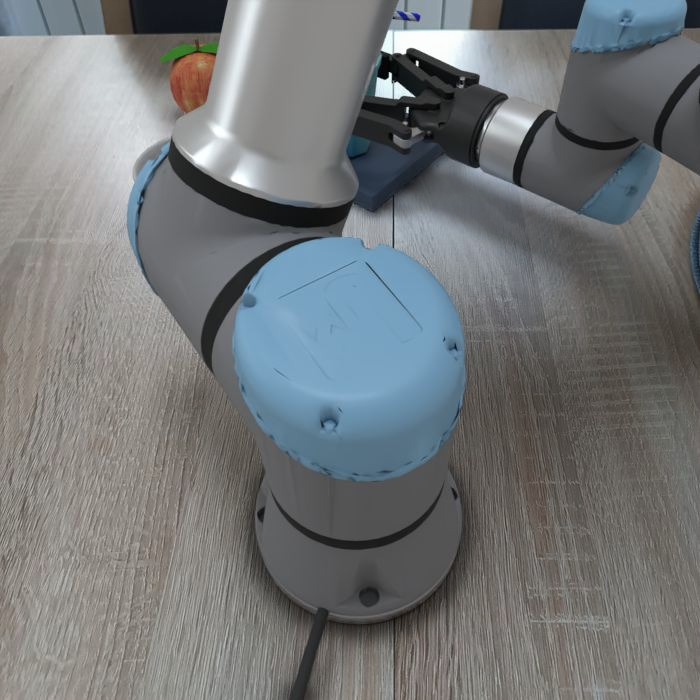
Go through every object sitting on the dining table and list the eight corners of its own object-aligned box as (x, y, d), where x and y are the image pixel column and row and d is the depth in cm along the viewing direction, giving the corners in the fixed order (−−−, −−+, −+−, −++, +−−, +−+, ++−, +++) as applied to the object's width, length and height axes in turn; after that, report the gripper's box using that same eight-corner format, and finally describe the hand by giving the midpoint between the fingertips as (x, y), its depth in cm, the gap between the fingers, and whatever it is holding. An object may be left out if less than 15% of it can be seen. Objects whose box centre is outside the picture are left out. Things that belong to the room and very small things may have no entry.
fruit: (243, 133, 82) (229, 56, 75) (168, 134, 83) (147, 57, 75) (251, 96, 88) (239, 21, 80) (180, 97, 88) (162, 22, 80)
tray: (372, 212, 72) (372, 197, 71) (257, 155, 79) (255, 140, 78) (451, 146, 80) (452, 130, 78) (339, 100, 87) (339, 85, 85)
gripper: (433, 217, 63) (262, 136, 72) (537, 121, 73) (374, 60, 82) (439, 149, 57) (252, 71, 67) (552, 55, 67) (374, -2, 76)
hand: (319, 65), depth 74 cm, fingers closed on cup, 7 cm apart
